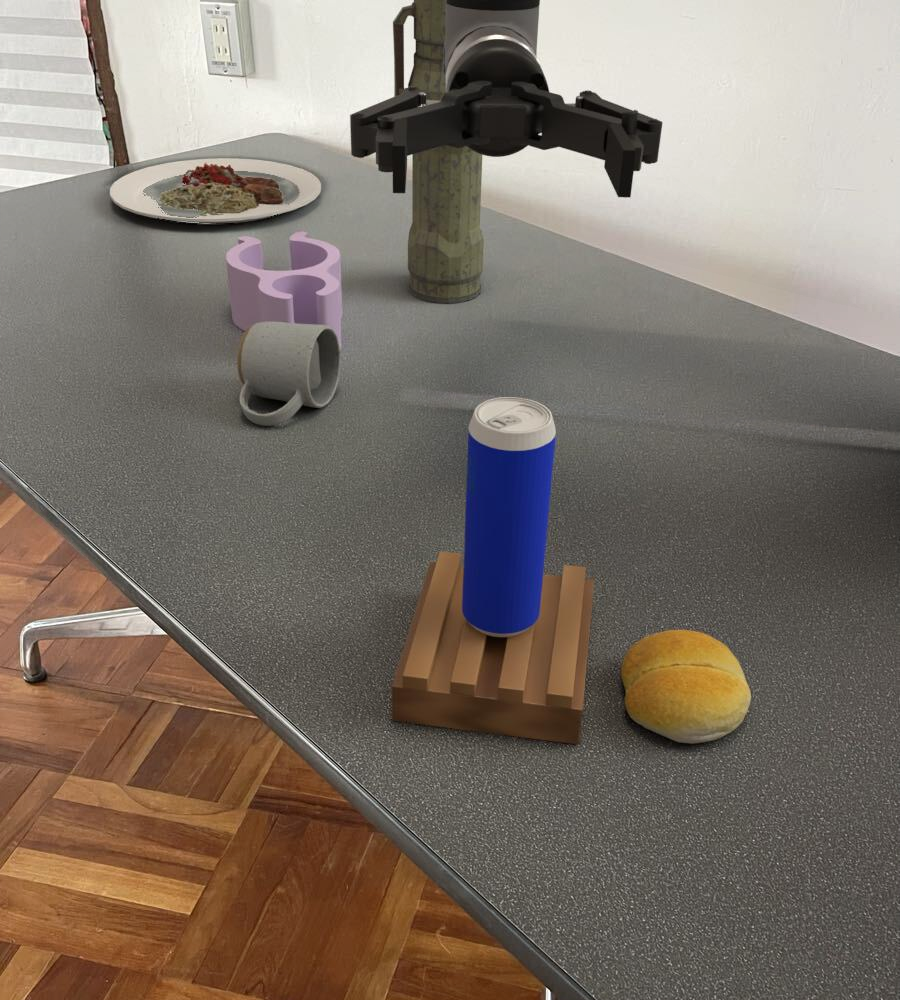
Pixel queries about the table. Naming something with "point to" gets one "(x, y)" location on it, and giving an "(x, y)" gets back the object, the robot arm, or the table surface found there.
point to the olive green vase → (439, 177)
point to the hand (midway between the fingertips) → (513, 172)
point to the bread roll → (685, 686)
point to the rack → (496, 661)
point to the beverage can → (506, 514)
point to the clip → (286, 284)
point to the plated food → (216, 190)
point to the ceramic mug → (288, 367)
